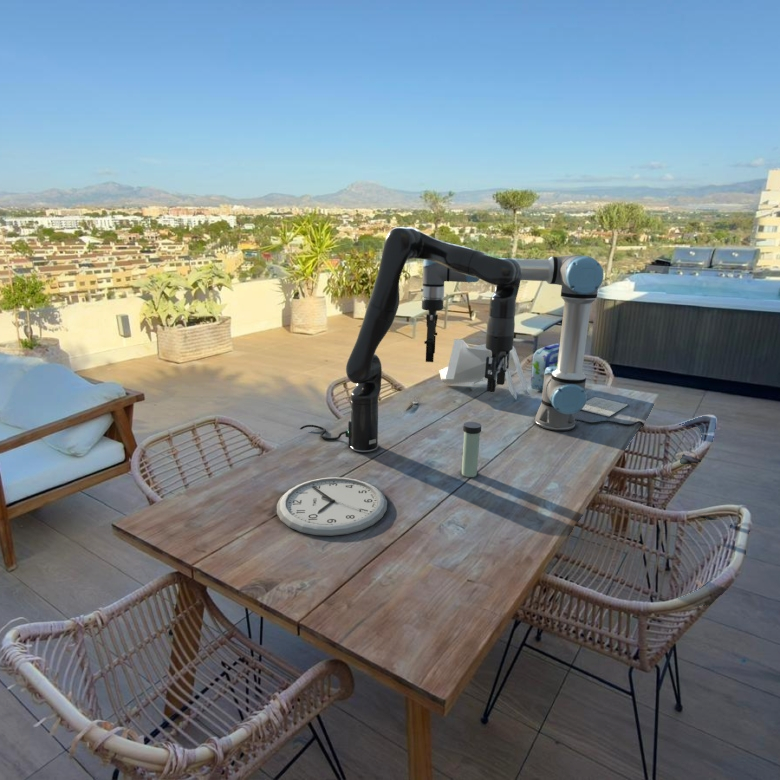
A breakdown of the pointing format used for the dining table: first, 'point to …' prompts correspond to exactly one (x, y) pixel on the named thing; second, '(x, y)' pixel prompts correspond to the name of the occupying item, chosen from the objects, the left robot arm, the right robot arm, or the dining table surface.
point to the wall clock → (331, 506)
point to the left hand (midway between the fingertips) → (495, 388)
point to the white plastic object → (476, 366)
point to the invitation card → (603, 406)
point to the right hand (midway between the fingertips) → (430, 357)
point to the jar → (470, 454)
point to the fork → (413, 403)
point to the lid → (472, 427)
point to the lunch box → (543, 364)
